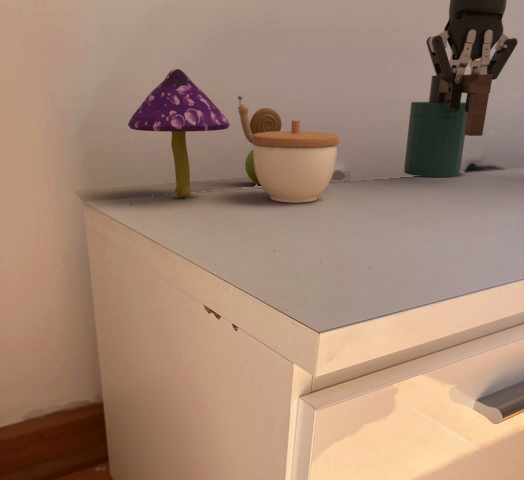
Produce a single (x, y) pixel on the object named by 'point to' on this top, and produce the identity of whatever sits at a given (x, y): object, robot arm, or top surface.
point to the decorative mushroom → (178, 119)
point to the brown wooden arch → (478, 99)
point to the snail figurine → (257, 130)
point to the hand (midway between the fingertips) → (462, 111)
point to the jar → (435, 140)
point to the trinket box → (294, 163)
